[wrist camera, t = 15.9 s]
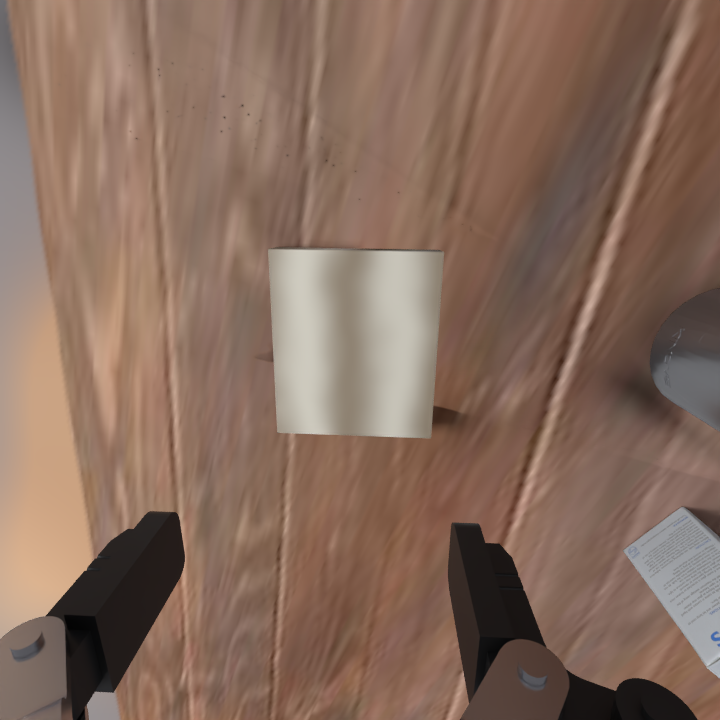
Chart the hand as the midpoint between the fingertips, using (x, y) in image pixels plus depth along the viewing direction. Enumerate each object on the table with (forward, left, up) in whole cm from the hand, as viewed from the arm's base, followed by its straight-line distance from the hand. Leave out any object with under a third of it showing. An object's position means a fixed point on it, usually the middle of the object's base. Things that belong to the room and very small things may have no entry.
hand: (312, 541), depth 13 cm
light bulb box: (-30, +20, -23) cm, 42 cm away
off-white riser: (0, 0, -23) cm, 23 cm away
